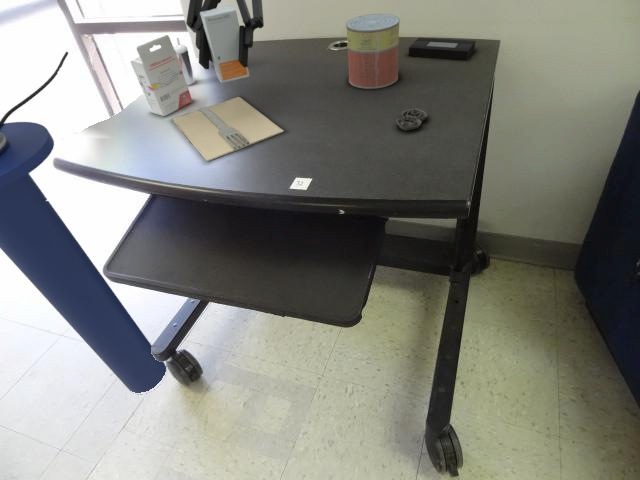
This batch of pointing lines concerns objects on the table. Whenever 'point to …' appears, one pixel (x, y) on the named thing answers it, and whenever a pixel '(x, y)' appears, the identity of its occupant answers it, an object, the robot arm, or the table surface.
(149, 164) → the table surface
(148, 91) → the ink cartridge box
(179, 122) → the placemat
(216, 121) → the fork
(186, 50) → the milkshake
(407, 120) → the corroded twin loop
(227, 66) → the cosmetic box
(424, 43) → the vhs tape
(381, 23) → the canned food
